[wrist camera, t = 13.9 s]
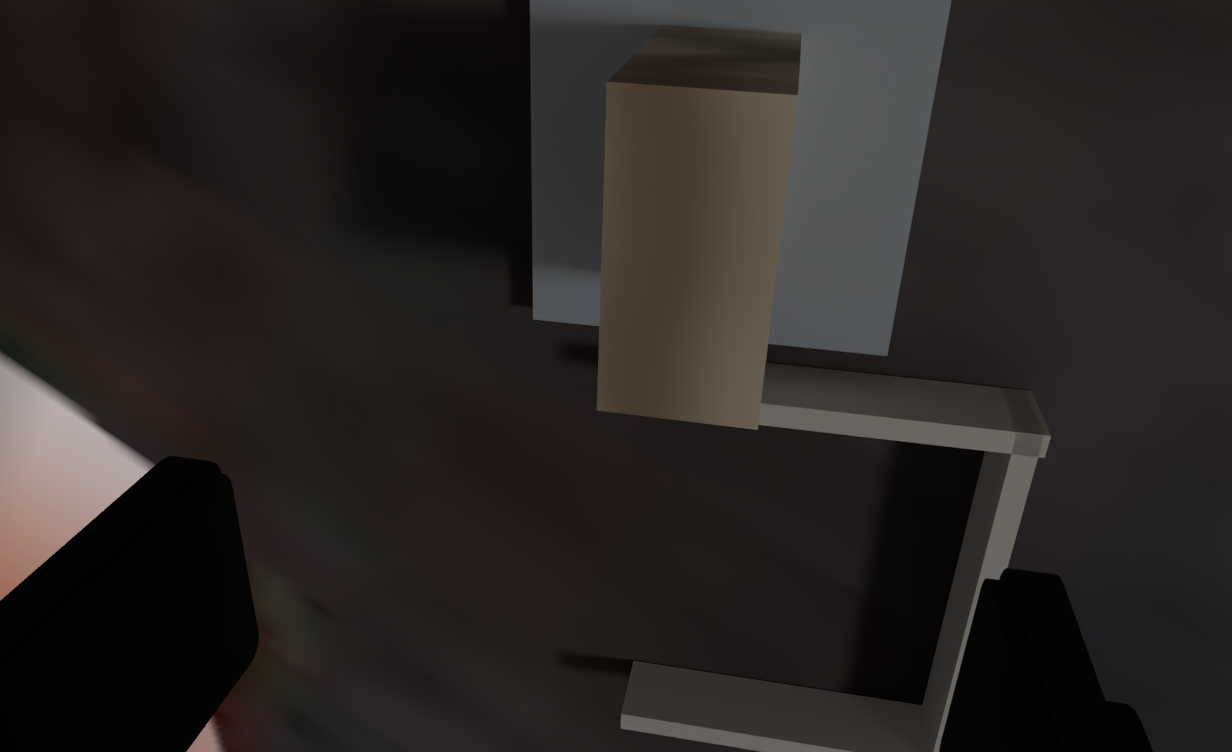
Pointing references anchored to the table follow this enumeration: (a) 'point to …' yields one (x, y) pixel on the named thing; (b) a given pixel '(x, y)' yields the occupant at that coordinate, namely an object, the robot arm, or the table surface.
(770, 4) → the mat
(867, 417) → the frame
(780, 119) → the block
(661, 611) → the table surface
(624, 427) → the table surface
